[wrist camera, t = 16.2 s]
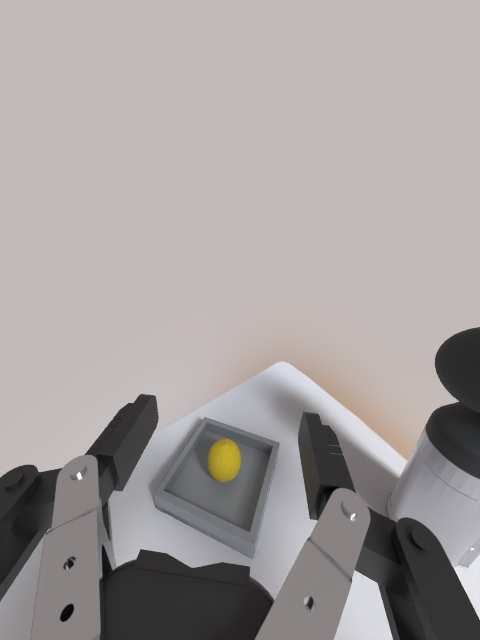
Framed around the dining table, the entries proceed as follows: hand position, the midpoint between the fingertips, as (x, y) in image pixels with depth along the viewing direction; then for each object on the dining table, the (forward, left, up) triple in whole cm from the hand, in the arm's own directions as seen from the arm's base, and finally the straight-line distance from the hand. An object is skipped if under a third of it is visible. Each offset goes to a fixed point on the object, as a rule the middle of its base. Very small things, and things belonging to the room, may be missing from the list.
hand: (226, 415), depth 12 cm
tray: (+7, -15, -32) cm, 36 cm away
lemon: (+6, -15, -31) cm, 35 cm away
